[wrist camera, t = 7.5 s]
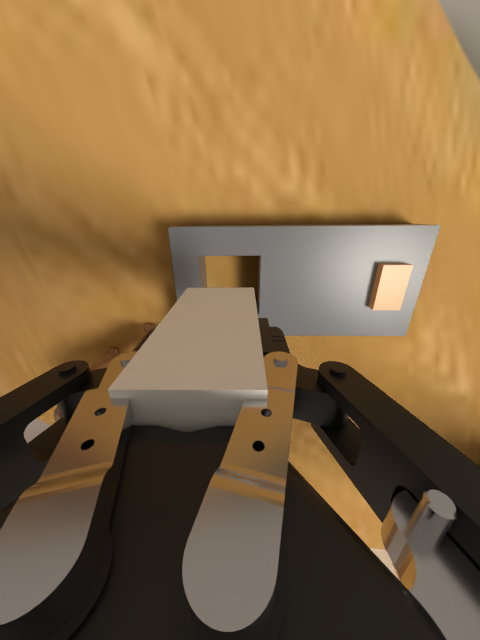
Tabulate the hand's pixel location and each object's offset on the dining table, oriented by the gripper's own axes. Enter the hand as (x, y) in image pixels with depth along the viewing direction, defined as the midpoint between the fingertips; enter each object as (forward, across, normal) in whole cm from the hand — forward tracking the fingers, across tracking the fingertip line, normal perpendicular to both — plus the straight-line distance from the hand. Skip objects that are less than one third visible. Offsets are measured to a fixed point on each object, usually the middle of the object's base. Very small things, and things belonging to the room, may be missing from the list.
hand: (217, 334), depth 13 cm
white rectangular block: (+2, 0, 0) cm, 2 cm away
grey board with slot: (+13, -6, 0) cm, 14 cm away
